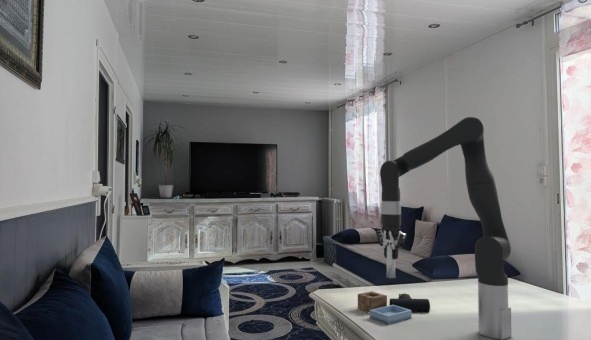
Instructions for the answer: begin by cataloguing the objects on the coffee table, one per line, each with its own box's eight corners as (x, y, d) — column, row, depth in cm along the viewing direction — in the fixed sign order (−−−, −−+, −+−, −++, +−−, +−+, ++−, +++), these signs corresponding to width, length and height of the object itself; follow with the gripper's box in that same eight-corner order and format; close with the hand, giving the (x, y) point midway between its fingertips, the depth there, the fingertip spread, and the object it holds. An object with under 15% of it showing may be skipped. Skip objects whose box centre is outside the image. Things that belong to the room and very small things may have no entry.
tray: (411, 318, 152) (411, 310, 152) (388, 324, 145) (388, 316, 145) (393, 312, 160) (393, 304, 160) (370, 318, 152) (370, 310, 152)
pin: (397, 277, 152) (397, 245, 153) (391, 278, 151) (391, 246, 151) (390, 275, 155) (390, 244, 156) (384, 276, 153) (384, 245, 154)
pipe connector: (385, 292, 171) (421, 292, 171) (385, 304, 171) (421, 305, 171) (392, 300, 160) (430, 300, 160) (392, 313, 160) (430, 314, 160)
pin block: (386, 310, 162) (386, 295, 162) (372, 314, 157) (372, 298, 157) (371, 305, 168) (371, 291, 169) (357, 308, 164) (357, 293, 164)
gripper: (412, 213, 150) (412, 260, 150) (383, 211, 162) (383, 255, 161) (398, 214, 146) (398, 262, 145) (370, 212, 158) (370, 256, 157)
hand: (390, 258), depth 153 cm, fingers closed on pin, 3 cm apart
